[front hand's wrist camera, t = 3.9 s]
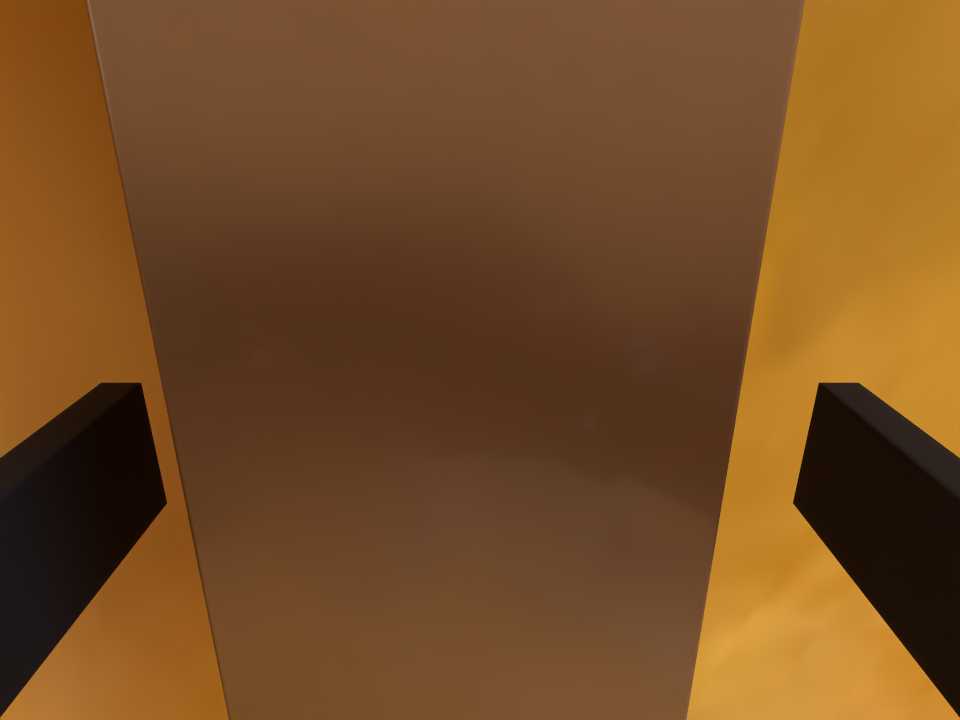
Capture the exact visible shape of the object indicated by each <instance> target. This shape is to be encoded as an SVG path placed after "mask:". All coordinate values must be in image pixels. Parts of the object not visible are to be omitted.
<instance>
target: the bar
mask: <svg viewBox="0 0 960 720" xmlns="http://www.w3.org/2000/svg"><path fill="white" fill-rule="evenodd" d="M804 1H805V0H85V3H86V8H87V13H88V18H89V23H90V28H91V33H92V38H93V43H94V48H95V53H96V58H97V63H98V68H99V73H100V78H101V83H102V88H103V93H104V98H105V103H106V107H107V112H108V117H109V122H110V127H111V132H112V137H113V142H114V147H115V152H116V157H117V162H118V167H119V172H120V177H121V182H122V187H123V192H124V197H125V202H126V207H127V212H128V217H129V222H130V227H131V232H132V237H133V242H134V247H135V252H136V257H137V262H138V267H139V272H140V277H141V282H142V287H143V292H144V297H145V302H146V307H147V312H148V317H149V322H150V327H151V332H152V337H153V342H154V347H155V352H156V357H157V362H158V367H159V372H160V377H161V382H162V387H163V392H164V397H165V402H166V407H167V412H168V417H169V422H170V427H171V432H172V437H173V442H174V447H175V452H176V457H177V462H178V467H179V472H180V477H181V482H182V487H183V492H184V497H185V502H186V507H187V512H188V517H189V522H190V527H191V532H192V537H193V542H194V547H195V552H196V557H197V562H198V567H199V572H200V577H201V582H202V587H203V592H204V597H205V602H206V607H207V612H208V617H209V622H210V627H211V632H212V637H213V642H214V647H215V652H216V657H217V662H218V667H219V672H220V677H221V682H222V687H223V692H224V697H225V702H226V707H227V712H228V717H229V720H686V718H687V712H688V706H689V700H690V694H691V688H692V681H693V675H694V669H695V663H696V657H697V651H698V645H699V639H700V633H701V627H702V621H703V615H704V608H705V602H706V596H707V590H708V584H709V578H710V572H711V566H712V560H713V554H714V548H715V542H716V536H717V529H718V523H719V517H720V511H721V505H722V499H723V493H724V487H725V481H726V475H727V469H728V463H729V457H730V450H731V444H732V438H733V432H734V426H735V420H736V414H737V408H738V402H739V396H740V390H741V384H742V377H743V371H744V365H745V359H746V353H747V347H748V341H749V335H750V329H751V323H752V317H753V311H754V305H755V298H756V292H757V286H758V280H759V274H760V268H761V262H762V256H763V250H764V244H765V238H766V232H767V226H768V219H769V213H770V207H771V201H772V195H773V189H774V183H775V177H776V171H777V165H778V159H779V153H780V146H781V140H782V134H783V128H784V122H785V116H786V110H787V104H788V98H789V92H790V86H791V80H792V74H793V67H794V61H795V55H796V49H797V43H798V37H799V31H800V25H801V19H802V13H803V7H804Z"/></svg>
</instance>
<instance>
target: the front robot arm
mask: <svg viewBox="0 0 960 720" xmlns="http://www.w3.org/2000/svg"><path fill="white" fill-rule="evenodd" d="M166 504H167V501H166V496H165V492H164V487H163V482H162V478H161V473H160V468H159V464H158V459H157V455H156V450H155V445H154V441H153V436H152V431H151V427H150V422H149V418H148V413H147V408H146V404H145V399H144V394H143V390H142V385H141V383H101V384H99V385H98V386H97V387H95V388H94V389H93V390H91V391H90V392H88V393H87V394H86V395H84V396H83V397H82V398H80V399H79V400H78V401H76V402H75V403H74V404H72V405H71V406H70V407H68V408H67V409H66V410H64V411H63V412H62V413H60V414H59V415H58V416H56V417H55V418H54V419H52V420H51V421H50V422H48V423H47V424H46V425H44V426H43V427H42V428H40V429H39V430H37V431H36V432H35V433H33V434H32V435H31V436H29V437H28V438H27V439H25V440H24V441H23V442H21V443H20V444H19V445H17V446H16V447H15V448H13V449H12V450H11V451H9V452H8V453H7V454H5V455H4V456H3V457H1V458H0V717H1V716H2V714H3V713H4V712H5V711H6V709H7V708H8V707H9V705H10V704H11V703H12V702H13V700H14V699H15V698H16V696H17V695H18V694H19V693H20V691H21V690H22V689H23V687H24V686H25V685H26V684H27V682H28V681H29V680H30V678H31V677H32V676H33V675H34V673H35V672H36V671H37V669H38V668H39V667H40V666H41V664H42V663H43V662H44V660H45V659H46V658H47V657H48V655H49V654H50V653H51V651H52V650H53V649H54V648H55V646H56V645H57V644H58V642H59V641H60V640H61V639H62V637H63V636H64V635H65V633H66V632H67V631H68V630H69V628H70V627H71V626H72V624H73V623H74V622H75V621H76V619H77V618H78V617H79V615H80V614H81V613H82V612H83V610H84V609H85V608H86V606H87V605H88V604H89V603H90V601H91V600H92V599H93V597H94V596H95V595H96V594H97V592H98V591H99V590H100V588H101V587H102V586H103V585H104V583H105V582H106V581H107V579H108V578H109V577H110V576H111V574H112V573H113V572H114V570H115V569H116V568H117V567H118V565H119V564H120V563H121V561H122V560H123V559H124V558H125V556H126V555H127V554H128V552H129V551H130V550H131V549H132V547H133V546H134V545H135V544H136V542H137V541H138V540H139V538H140V537H141V536H142V535H143V533H144V532H145V531H146V529H147V528H148V527H149V526H150V524H151V523H152V522H153V520H154V519H155V518H156V517H157V515H158V514H159V513H160V511H161V510H162V509H163V508H164V506H165V505H166ZM793 504H794V505H795V506H796V508H797V509H798V510H799V511H800V513H801V514H802V515H803V517H804V518H805V519H806V520H807V522H808V523H809V524H810V526H811V527H812V528H813V529H814V531H815V532H816V533H817V535H818V536H819V537H820V538H821V540H822V541H823V542H824V544H825V545H826V546H827V547H828V549H829V550H830V551H831V552H832V554H833V555H834V556H835V558H836V559H837V560H838V561H839V563H840V564H841V565H842V567H843V568H844V569H845V570H846V572H847V573H848V574H849V576H850V577H851V578H852V579H853V581H854V582H855V583H856V585H857V586H858V587H859V588H860V590H861V591H862V592H863V594H864V595H865V596H866V597H867V599H868V600H869V601H870V603H871V604H872V605H873V606H874V608H875V609H876V610H877V612H878V613H879V614H880V615H881V617H882V618H883V619H884V621H885V622H886V623H887V624H888V626H889V627H890V628H891V630H892V631H893V632H894V633H895V635H896V636H897V637H898V639H899V640H900V641H901V642H902V644H903V645H904V646H905V648H906V649H907V650H908V651H909V653H910V654H911V655H912V657H913V658H914V659H915V660H916V662H917V663H918V664H919V666H920V667H921V668H922V669H923V671H924V672H925V673H926V675H927V676H928V677H929V678H930V680H931V681H932V682H933V684H934V685H935V686H936V687H937V689H938V690H939V691H940V693H941V694H942V695H943V696H944V698H945V699H946V700H947V702H948V703H949V704H950V705H951V707H952V708H953V709H954V711H955V712H956V713H957V714H958V716H959V717H960V458H959V457H957V456H956V455H955V454H953V453H952V452H951V451H949V450H948V449H947V448H945V447H944V446H943V445H941V444H940V443H939V442H937V441H936V440H935V439H933V438H932V437H931V436H929V435H928V434H927V433H925V432H924V431H923V430H921V429H920V428H918V427H917V426H916V425H914V424H913V423H912V422H910V421H909V420H908V419H906V418H905V417H904V416H902V415H901V414H900V413H898V412H897V411H896V410H894V409H893V408H892V407H890V406H889V405H888V404H886V403H885V402H884V401H882V400H881V399H880V398H878V397H877V396H876V395H874V394H873V393H872V392H870V391H869V390H867V389H866V388H865V387H863V386H862V385H861V384H859V383H819V385H818V390H817V394H816V399H815V404H814V408H813V413H812V418H811V422H810V427H809V431H808V436H807V441H806V445H805V450H804V455H803V459H802V464H801V468H800V473H799V478H798V482H797V487H796V492H795V496H794V501H793Z"/></svg>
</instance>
